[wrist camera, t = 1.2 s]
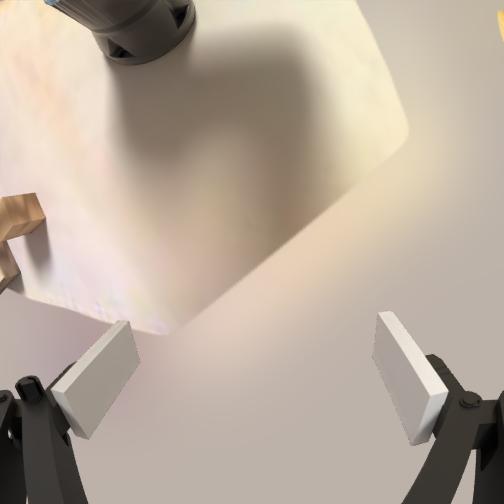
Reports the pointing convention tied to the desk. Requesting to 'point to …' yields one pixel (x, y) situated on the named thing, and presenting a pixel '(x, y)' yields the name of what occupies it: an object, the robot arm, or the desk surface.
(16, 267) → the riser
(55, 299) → the desk surface
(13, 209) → the block
